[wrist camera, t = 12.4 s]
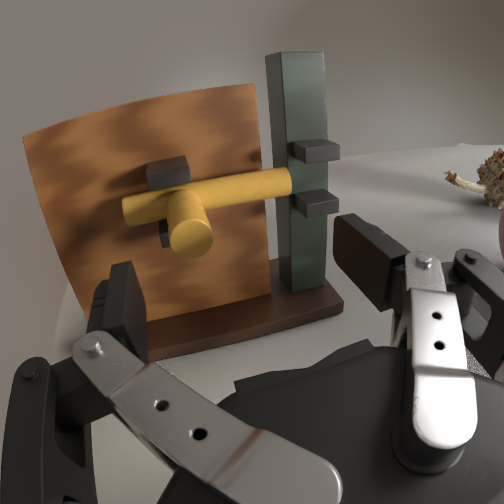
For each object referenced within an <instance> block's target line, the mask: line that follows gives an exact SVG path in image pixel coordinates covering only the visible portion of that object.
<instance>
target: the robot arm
mask: <svg viewBox="0 0 504 504" xmlns="http://www.w3.org/2000/svg"><path fill="white" fill-rule="evenodd" d="M333 256H334V260H335V262H336V264H337V265H338V266H339V267H340V268H341V269H342V270H343V272H344V273H345V274H346V275H347V276H348V277H349V278H350V279H351V280H352V281H353V282H354V283H355V285H356V286H357V287H358V288H359V289H360V290H361V291H362V292H363V293H364V294H365V296H366V297H367V298H368V299H369V300H370V301H371V302H372V303H373V305H374V306H375V307H376V308H377V309H378V310H379V311H380V312H383V311H385V310H388V309H391V308H392V309H393V310H394V311H393V315H392V327H391V342H390V347H389V346H381V347H374V346H373V345H372V344H371V342H370V341H369V340H368V339H365V340H362V341H360V342H357V343H354V344H352V345H349V346H346V347H343V348H341V349H338V350H337V351H335V352H333V353H332V354H330V355H329V356H327V357H326V358H324V359H322V360H321V361H319V362H318V363H316V364H314V365H313V366H311V367H308V368H303V369H293V370H283V371H271V372H267V373H263V374H259V375H256V376H252V377H249V378H245V379H241V380H237V381H234V385H235V389H236V392H235V393H233V394H231V395H229V396H228V397H226V398H225V399H223V400H222V401H221V402H219V403H218V404H217V405H215V404H214V403H212V402H211V401H209V400H208V399H206V398H205V397H203V396H202V395H200V394H199V393H197V392H196V391H194V390H193V389H191V388H190V387H188V386H187V385H185V384H184V383H183V382H181V381H180V380H178V379H177V378H176V377H174V376H173V375H171V374H170V373H169V372H167V371H166V370H165V369H163V368H162V367H161V366H159V365H158V364H156V363H155V362H153V361H150V362H148V343H147V312H146V303H145V299H144V295H143V292H142V289H141V287H140V284H139V281H138V278H137V275H136V272H135V269H134V266H133V263H132V261H131V260H129V261H125V262H121V263H116V264H112V265H111V270H110V275H109V279H106V280H102V281H101V282H100V283H99V285H98V286H97V287H96V289H95V291H94V295H93V301H92V305H91V310H90V315H89V320H88V326H87V332H86V334H85V335H83V336H82V337H81V338H79V339H78V340H77V341H76V343H75V344H74V346H73V348H72V356H71V357H69V358H67V359H65V360H63V361H60V362H58V363H56V364H54V365H52V366H50V364H49V363H48V361H47V360H46V359H44V358H42V357H33V358H30V359H28V360H26V361H25V362H23V363H22V364H21V365H20V366H19V367H18V369H17V370H16V373H15V375H14V379H13V384H12V389H11V394H10V400H9V405H8V411H7V417H6V424H5V432H4V441H3V451H2V462H1V482H0V504H98V501H97V494H96V486H95V477H94V467H93V455H92V439H91V422H93V421H95V420H98V419H100V418H102V417H104V416H106V415H109V414H111V413H112V414H113V415H114V416H115V417H116V418H117V419H118V420H119V421H120V422H121V423H122V424H123V425H124V426H125V427H126V428H127V429H128V430H129V431H130V432H131V433H132V434H133V435H134V436H135V437H136V438H137V439H138V440H139V441H140V442H141V443H142V444H143V445H145V446H146V447H147V448H148V449H149V450H150V451H151V452H152V453H153V454H154V455H155V456H156V457H157V458H158V459H159V460H160V461H161V462H162V463H163V464H164V465H166V466H167V467H168V468H169V469H170V470H172V471H173V472H174V474H173V476H172V478H171V479H170V481H169V483H168V485H167V486H166V488H165V490H164V492H163V493H162V495H161V497H160V499H159V500H158V502H157V504H504V273H503V272H502V271H501V270H500V269H499V268H497V267H496V266H495V265H494V264H492V263H491V262H490V261H489V260H487V259H486V258H485V257H484V256H482V255H481V254H480V253H478V252H476V251H473V250H469V249H460V250H458V251H457V252H456V254H455V258H454V262H445V263H441V262H440V261H439V259H438V258H437V257H435V256H434V255H432V254H430V253H427V252H422V251H414V252H410V251H408V250H407V249H406V248H405V247H403V246H402V245H401V244H400V243H398V242H397V241H396V240H394V239H392V238H391V237H390V236H389V235H388V234H385V232H384V231H382V230H381V229H380V228H378V227H377V226H375V225H372V224H369V223H367V222H365V221H364V220H362V219H361V218H360V217H358V216H357V215H356V214H354V213H351V214H346V215H341V216H337V217H335V220H334V233H333ZM477 293H478V294H479V295H480V296H481V297H482V298H483V299H484V300H485V301H486V302H487V303H488V304H489V305H490V307H491V310H492V315H491V318H490V320H489V322H488V321H487V320H486V319H485V318H484V317H483V316H482V315H481V314H480V313H479V312H478V311H477V310H476V309H475V308H474V307H473V306H472V305H473V303H474V300H475V297H476V295H477ZM465 346H466V348H467V349H468V350H469V351H470V352H471V353H472V355H473V356H474V357H475V358H476V359H477V361H478V362H479V363H480V364H481V366H482V367H483V368H484V369H485V370H486V372H487V373H488V374H489V375H490V377H491V378H492V379H491V378H487V377H484V376H481V375H478V374H475V373H472V372H469V371H468V368H467V360H466V352H465Z"/></svg>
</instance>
